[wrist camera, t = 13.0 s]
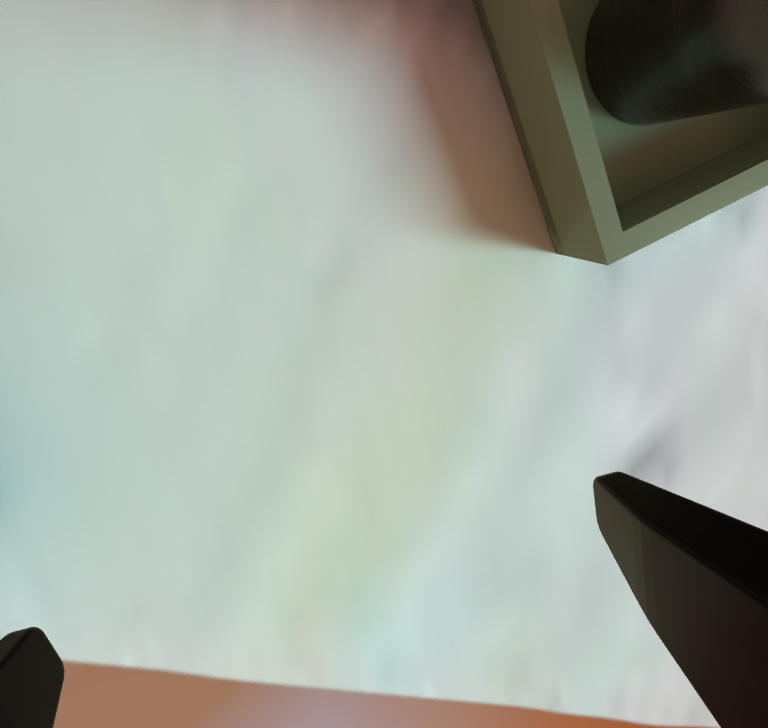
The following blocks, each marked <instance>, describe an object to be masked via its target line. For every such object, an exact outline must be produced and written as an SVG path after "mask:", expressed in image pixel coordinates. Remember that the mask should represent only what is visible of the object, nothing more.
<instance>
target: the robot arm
mask: <svg viewBox="0 0 768 728" xmlns="http://www.w3.org/2000/svg"><path fill="white" fill-rule="evenodd" d="M593 489H594V498H595V507H596V516H597V522H598V526H599V529H600V531H601V533H602V535H603V537H604V539H605V541H606V543H607V545H608V547H609V549H610V550H611V552H612V554H613V556H614V558H615V560H616V562H617V564H618V565H619V567H620V569H621V571H622V573H623V575H624V577H625V579H626V580H627V582H628V584H629V586H630V588H631V590H632V592H633V593H634V595H635V597H636V599H637V601H638V603H639V605H640V607H641V608H642V610H643V612H644V614H645V615H646V617H647V619H648V621H649V622H650V624H651V625H652V627H653V628H654V630H655V631H656V633H657V634H658V636H659V637H660V639H661V640H662V642H663V643H664V645H665V646H666V648H667V649H668V651H669V652H670V654H671V655H672V656H673V658H674V659H675V661H676V662H677V664H678V665H679V667H680V668H681V670H682V671H683V673H684V674H685V676H686V677H687V678H688V680H689V681H690V683H691V684H692V686H693V687H694V689H695V690H696V692H697V693H698V695H699V696H700V698H701V699H702V700H703V702H704V703H705V705H706V706H707V708H708V709H709V711H710V712H711V714H712V715H713V717H714V718H715V720H716V721H717V722H718V724H719V725H720V727H721V728H768V531H765V530H763V529H760V528H758V527H755V526H753V525H751V524H748V523H746V522H743V521H741V520H738V519H736V518H733V517H731V516H728V515H726V514H724V513H721V512H719V511H716V510H714V509H711V508H709V507H706V506H704V505H701V504H699V503H696V502H694V501H692V500H689V499H687V498H684V497H682V496H679V495H677V494H674V493H672V492H669V491H667V490H665V489H662V488H660V487H657V486H655V485H652V484H650V483H647V482H645V481H642V480H640V479H638V478H635V477H633V476H630V475H628V474H625V473H622V472H613V473H609V474H605V475H602V476H598V477H596V478H595V480H594V483H593ZM63 681H64V666H63V662H62V660H61V659H60V657H59V655H58V654H57V652H56V651H55V649H54V648H53V646H52V644H51V643H50V641H49V640H48V638H47V637H46V635H45V633H44V632H43V631H42V630H41V629H39V628H37V627H30V628H26V629H23V630H19V631H15V632H12V633H10V634H8V635H6V636H5V637H3V638H2V639H1V640H0V728H53V725H54V721H55V716H56V712H57V708H58V703H59V699H60V694H61V690H62V685H63Z"/></svg>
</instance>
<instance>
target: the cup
mask: <svg viewBox="0 0 768 728" xmlns="http://www.w3.org/2000/svg"><path fill="white" fill-rule="evenodd" d="M473 1H474V4H475V7H476V10H477V13H478V16H479V19H480V22H481V25H482V29H483V32H484V35H485V38H486V41H487V44H488V47H489V50H490V53H491V56H492V59H493V62H494V65H495V68H496V71H497V74H498V77H499V80H500V83H501V86H502V89H503V92H504V95H505V98H506V101H507V105H508V108H509V111H510V114H511V117H512V120H513V123H514V126H515V129H516V132H517V135H518V138H519V141H520V144H521V147H522V150H523V153H524V156H525V159H526V162H527V165H528V168H529V171H530V174H531V178H532V181H533V184H534V187H535V190H536V193H537V196H538V199H539V202H540V205H541V208H542V211H543V214H544V217H545V220H546V223H547V226H548V229H549V232H550V235H551V238H552V241H553V244H554V247H555V251H556V254H560V255H565V256H569V257H574V258H578V259H582V260H587V261H591V262H596V263H600V264H604V265H609V264H611V263H613V262H615V261H617V260H619V259H621V258H623V257H625V256H627V255H629V254H631V253H633V252H635V251H637V250H639V249H641V248H643V247H645V246H647V245H649V244H651V243H653V242H655V241H657V240H659V239H661V238H663V237H665V236H667V235H669V234H671V233H673V232H675V231H677V230H679V229H681V228H683V227H685V226H687V225H689V224H691V223H693V222H695V221H697V220H699V219H701V218H703V217H705V216H707V215H709V214H711V213H713V212H715V211H717V210H719V209H721V208H723V207H725V206H727V205H729V204H731V203H733V202H735V201H737V200H739V199H741V198H743V197H745V196H747V195H749V194H751V193H753V192H755V191H757V190H759V189H761V188H763V187H765V186H767V185H768V103H766V104H761V105H756V106H750V107H745V108H740V109H735V110H729V111H724V112H719V113H713V114H708V115H703V116H697V117H692V118H687V119H681V120H676V121H671V122H666V123H660V124H655V125H648V126H640V125H633V124H629V123H626V122H624V121H621V120H619V119H617V118H616V117H615V116H613V115H612V114H610V113H609V112H608V111H607V110H606V109H605V108H604V107H603V106H602V104H601V103H600V102H599V101H598V99H597V97H596V96H595V94H594V92H593V90H592V87H591V85H590V82H589V79H588V75H587V70H586V64H585V42H586V36H587V30H588V27H589V23H590V20H591V17H592V15H593V12H594V10H595V8H596V6H597V4H598V2H599V1H600V0H473Z"/></svg>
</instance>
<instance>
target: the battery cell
mask: <svg viewBox="0 0 768 728" xmlns="http://www.w3.org/2000/svg"><path fill="white" fill-rule="evenodd" d="M585 64H586V70H587V75H588V79H589V82H590V85H591V87H592V90H593V92H594V94H595V96H596V97H597V99H598V101H599V102H600V103H601V104H602V106H603V107H604V108H605V109H606V110H607V111H608V112H609V113H610V114H612V115H613V116H615V117H616V118H617V119H619V120H621V121H624V122H626V123H629V124H633V125H640V126H648V125H655V124H660V123H666V122H671V121H676V120H681V119H687V118H692V117H697V116H703V115H708V114H713V113H719V112H724V111H729V110H735V109H740V108H745V107H750V106H756V105H761V104H766V103H768V0H600V1H599V2H598V4H597V6H596V8H595V10H594V12H593V15H592V17H591V20H590V23H589V27H588V30H587V36H586V42H585Z"/></svg>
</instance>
